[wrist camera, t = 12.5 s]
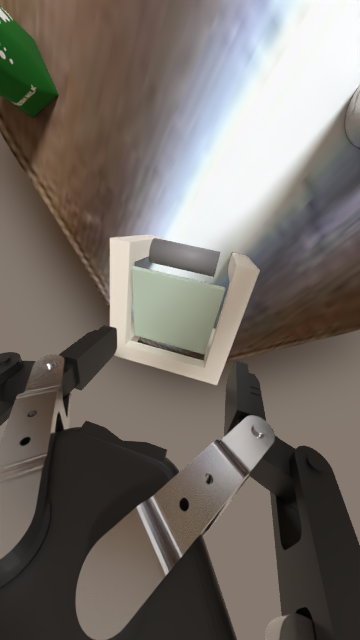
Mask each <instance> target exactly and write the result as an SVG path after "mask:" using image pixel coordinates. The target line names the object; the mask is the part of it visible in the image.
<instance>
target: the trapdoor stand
mask: <svg viewBox="0 0 360 640" xmlns="http://www.w3.org/2000/svg"><path fill="white" fill-rule="evenodd" d="M154 238H157V239H161V240H162V237H158V236H153V235H138V236H126V237H115V238H110V326H111V327H115V328H116V329H117V350H116V352H115V354H114V356H117V357H121V358H125V359H128V360H132V361H135V362H138V363H142V364H145V365H149V366H152V367H155V368H159V369H162V370H166V371H169V372H173V373H176V374H180V375H183V376H187V377H190V378H194V379H197V380H200V381H204V382H208V383H211V384H214V385H217V384H218V381H219V378H220V376H221V373H222V370H223V368H224V365H225V362H226V360H227V357H228V354H229V352H230V349H231V346H232V344H233V341H234V338H235V336H236V333H237V330H238V328H239V325H240V322H241V320H242V317H243V314H244V312H245V309H246V306H247V304H248V301H249V298H250V296H251V293H252V290H253V288H254V285H255V282H256V280H257V277H258V274H259V272H260V270H259V269H258V268H257V267H256V266H255V264H254V263H253V262H252V261H251V260H250V258H249V257H248V256H247V255H243V254H238V253H233V252H232V255H231V258H230V262H229V265H228V272H229V282H230V284H229V287H228V291H227V294H226V297H225V300H224V303H223V307H222V310H221V313H220V316H219V320H218V323H217V326H216V329H215V328H213V330H212V333H211V336H210V339H209V342H208V345H207V348H206V351H205V357H204V361H203V360H199V359H196V358H192V357H188V356H185V355H181V354H178V353H174V352H170V351H167V350H163V349H160V348H156V347H152V346H149V345H145V344H142V343H138V340H139V339H140V338H141V337H138V336H135V334H134V318H133V319H132V320H131V313H132V296H133V285H132V268H133V267H134V262H135V261H138V260H141V259H143V258H146V257H149V249H150V245H151V242H152V240H153V239H154Z"/></svg>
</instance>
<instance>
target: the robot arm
mask: <svg viewBox="0 0 360 640" xmlns="http://www.w3.org/2000/svg"><path fill="white" fill-rule="evenodd" d="M345 130H346V134H347V137H348V138H349V140H350V142H351V143H352V144H353V145H355V146H356V147H358V148H360V86H359V87H358V89H357V90H356V92H355V93H354V95H353V97H352V99H351V101H350V104H349V107H348V109H347V113H346V119H345ZM116 350H117V329H116V328H115V327H111V326H106V325H104V326H103V327H101V328H100V329H99V330H94V331H92V332H89V333H87V334H86V335H85V336H83V337H82V338H81V339H79V340H78V341H77V342H75V343H74V344H72V345H71V346H70V347H69V348H67V349H66V350H64V351H63V352H62V353H60V354H59V355H47V356H44V357H42V358H40V359H38V360H37V361H22V360H21V357H20V355H19V354H17V353H14V352H8V353H2V354H0V425H2V424H3V423H4V422H5V421H6V420H7V419H8V418H9V419H8V422H7V425H6V428H5V430H4V433H3V436H2V439H1V442H0V640H237V639H236V636H235V632H234V629H233V626H232V623H231V620H230V617H229V614H228V611H227V608H226V605H225V602H224V599H223V596H222V593H221V590H220V587H219V584H218V581H217V578H216V575H215V572H214V569H213V566H212V563H211V560H210V556H209V553H208V551H207V547H206V544H205V541H204V539H203V537H204V536H205V534H206V533H207V531H208V530H209V529H210V528H211V526H212V525H213V524H214V523H215V521H216V520H217V519H218V517H219V516H220V515H221V513H222V512H223V511H224V509H225V508H226V507H227V505H228V504H229V503H230V501H231V500H232V499H233V497H234V496H235V495H236V494H237V492H238V491H239V490H240V489H241V487H242V486H243V485H244V483H245V482H246V481H247V480H248V478H249V477H250V476H251V477H252V478H253V479H254V480H256V481H257V482H258V483H260V484H261V485H262V486H264V487H265V488H266V489H268V490H269V491H270V495H271V505H272V515H273V526H274V537H275V548H276V558H277V569H278V579H279V591H280V602H281V611H282V617H278V618H275V619H273V620H272V621H271V622H270V623H269V625H268V627H267V629H266V633H265V638H264V640H360V545H359V542H358V540H357V537H356V534H355V531H354V529H353V526H352V523H351V520H350V517H349V514H348V512H347V509H346V506H345V503H344V501H343V498H342V495H341V492H340V490H339V487H338V484H337V481H336V479H335V475H334V473H333V470H332V468H331V466H330V465H329V463H328V462H327V461H326V459H325V458H324V457H323V456H322V455H321V454H320V453H318V452H317V451H316V450H314V449H312V448H310V447H307V446H299V447H298V448H297V449H295V448H293V447H291V446H290V445H288V444H287V443H285V442H283V441H282V440H280V439H279V438H278V437H276V436H275V435H274V431H273V429H272V428H271V426H270V425H269V424H268V423H267V422H266V418H265V412H264V406H263V401H262V397H261V391H260V383H259V381H258V379H257V378H256V376H255V375H254V374H251V373H249V371H248V365H247V364H246V363H243V362H239V361H234V364H233V366H232V369H231V371H230V374H229V377H228V380H227V384H226V400H225V427H224V438H223V439H222V440H220V441H219V440H216V441H214V442H213V443H212V444H210V445H209V446H208V447H207V448H206V449H205V450H204V451H203V452H202V453H201V454H199V455H198V456H197V457H196V458H195V459H194V460H193V461H191V463H189V464H188V465H187V466H186V467H185V468H184V469H182V470H181V471H180V472H179V470H178V469H177V468H176V466H175V465H174V464H173V463H172V462H171V461H170V460H169V459H168V458H166V452H167V450H166V449H163V448H161V447H158V446H155V445H152V444H150V443H147V442H134V441H123V440H121V439H119V438H118V437H117V436H115V435H114V434H113V433H111V432H110V431H109V430H108V429H106V428H105V427H102V426H99V425H97V424H94V423H91V422H88V421H86V422H85V423H84V424H83V426H82V427H75V428H69V415H70V403H71V391H72V390H73V389H74V388H76V389H79V390H82V389H83V388H84V387H85V386H86V385H87V384H88V383H89V382H90V381H91V379H92V378H93V377H94V376H95V375H96V374H97V373H98V372H99V371H100V369H101V368H102V367H103V366H104V365H105V364H106V363H107V362H108V361H109V360H110V359H111V358H112V356H113V355H114V354H115V352H116Z"/></svg>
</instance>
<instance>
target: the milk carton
mask: <svg viewBox="0 0 360 640" xmlns="http://www.w3.org/2000/svg"><path fill="white" fill-rule="evenodd" d="M57 95H58V93H57V90H56V88H55V86H54V84H53V81H52V79H51V77H50V75H49V72H48V70H47V68H46V66H45V63H44V61H43V59H42V57H41V54H40V52H39V50H38V48H37V45H36V43H35V41H34V39H33V38H32V37H31V36H30V35H29V34H28V33H27V32H26V31H25V30H24V29H23V28H22V27H21V26H20V25H19V24H18V23H17V22H16V21H15V20H14V19H13V18H12V17H11V16H10V15H9V14H8V13H7V12H6V11H5V10H4V9H3V8H2V7H1V6H0V96H2V97H4V98H5V99H6V100H8V101H9V102H11V103H12V104H14V105H15V106H16V107H18V108H19V109H21V110H22V111H24V112H25V113H27V114H28V115H29V116H31V117H32V118H33V117H34V116H35V115H36V114H37V113H39V112H40V111H41V110H42V109H43V108H44V107H45V106H46V105H47V104H49V103H50V102H51V101H52V100H53V99H54V98H55V97H56V96H57Z"/></svg>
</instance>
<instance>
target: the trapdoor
mask: <svg viewBox="0 0 360 640" xmlns="http://www.w3.org/2000/svg"><path fill="white" fill-rule="evenodd" d="M219 255H220V252H218V251H213V250H208V249H204V248H199V247H194V246H190V245H185V244H180V243H176V242H171V241H166V240H161V239H157V238H154V239H153V240H152V242H151V245H150V249H149V260H150V262H151V263H156V264H160V265H165V266H169V267H173V268H178V269H182V270H187V271H191V272H195V273H200V274H204V275H208V276H213V277H214V274H215V271H216V267H217V263H218V259H219ZM132 285H133V310H134V334H135V336H138V337H142V338H146V339H149V340H153V341H157V342H160V343H164V344H168V345H171V346H175V347H179V348H182V349H186V350H190V351H193V352H197V353H200V354H205V351H206V348H207V345H208V342H209V339H210V336H211V333H212V330H213V327H214V323H215V320H216V317H217V314H218V311H219V308H220V305H221V302H222V299H223V296H224V293H225V288H226V287H222V286H218V285H214V284H209V283H205V282H201V281H196V280H192V279H188V278H184V277H179V276H175V275H171V274H166V273H162V272H158V271H153V270H149V269H145V268H141V267H136V266H134V267H133V268H132Z"/></svg>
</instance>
